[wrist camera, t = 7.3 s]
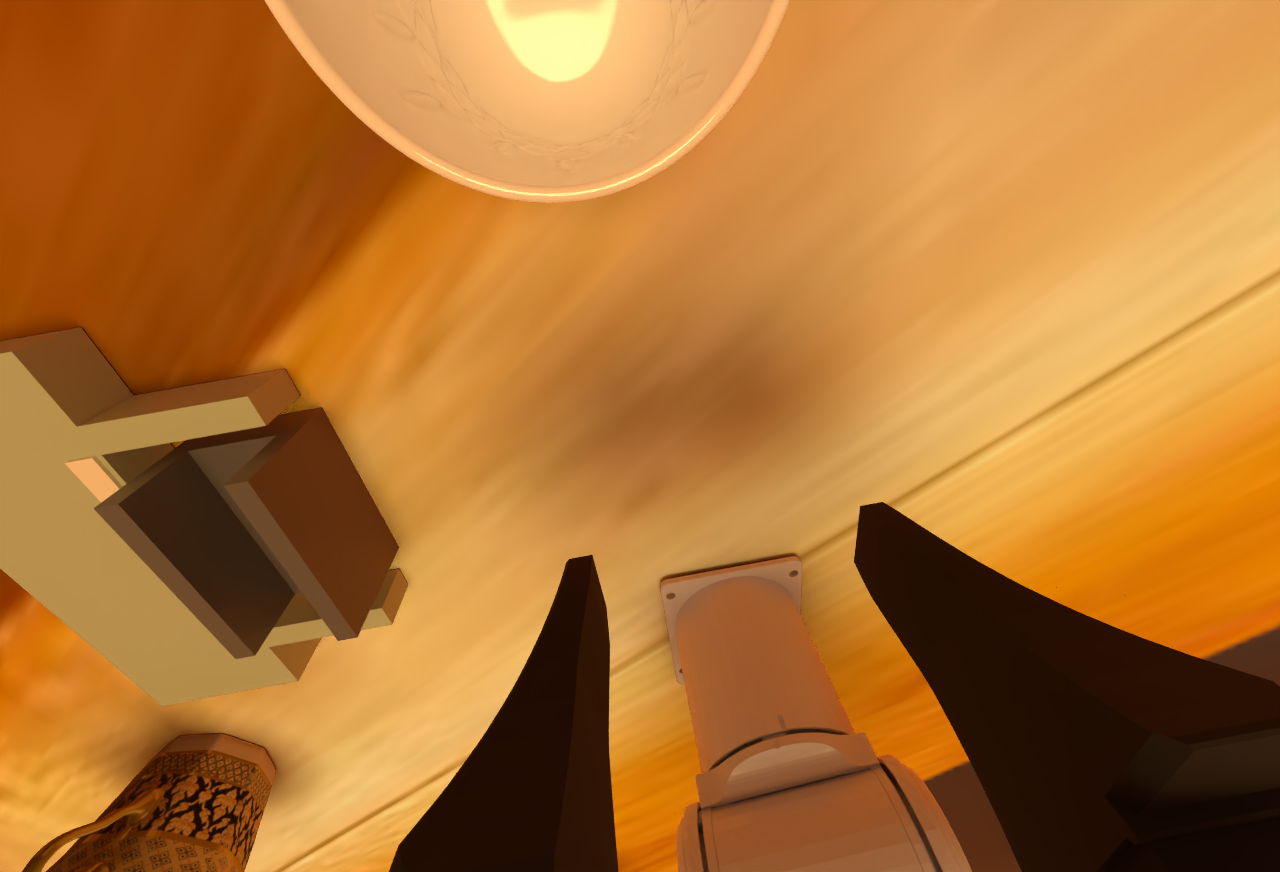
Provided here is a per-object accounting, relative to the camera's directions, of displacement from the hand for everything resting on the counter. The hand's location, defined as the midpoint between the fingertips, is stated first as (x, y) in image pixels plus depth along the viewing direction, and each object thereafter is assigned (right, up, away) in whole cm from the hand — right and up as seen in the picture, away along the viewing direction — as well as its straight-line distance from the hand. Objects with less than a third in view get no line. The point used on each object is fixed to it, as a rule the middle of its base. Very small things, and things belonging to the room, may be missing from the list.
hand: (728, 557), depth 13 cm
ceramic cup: (-30, -17, +18) cm, 39 cm away
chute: (-17, +1, +9) cm, 20 cm away
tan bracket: (-21, 0, +9) cm, 23 cm away
